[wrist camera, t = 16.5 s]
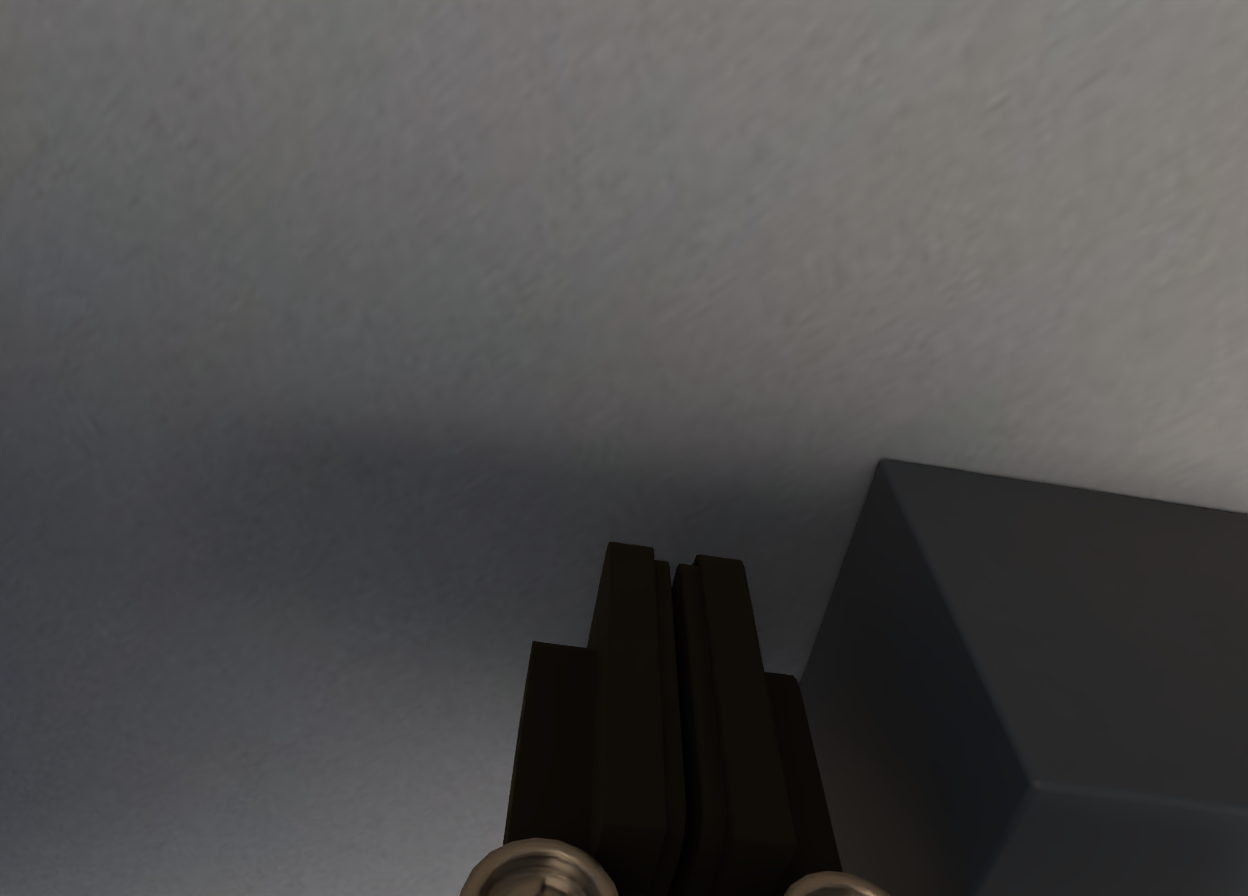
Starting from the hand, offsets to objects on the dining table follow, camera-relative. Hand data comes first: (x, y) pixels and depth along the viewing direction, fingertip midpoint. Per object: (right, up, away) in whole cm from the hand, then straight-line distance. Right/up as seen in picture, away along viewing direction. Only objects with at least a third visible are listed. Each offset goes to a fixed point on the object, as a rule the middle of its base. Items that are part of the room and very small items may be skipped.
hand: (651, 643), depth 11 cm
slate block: (+5, 0, +1) cm, 5 cm away
